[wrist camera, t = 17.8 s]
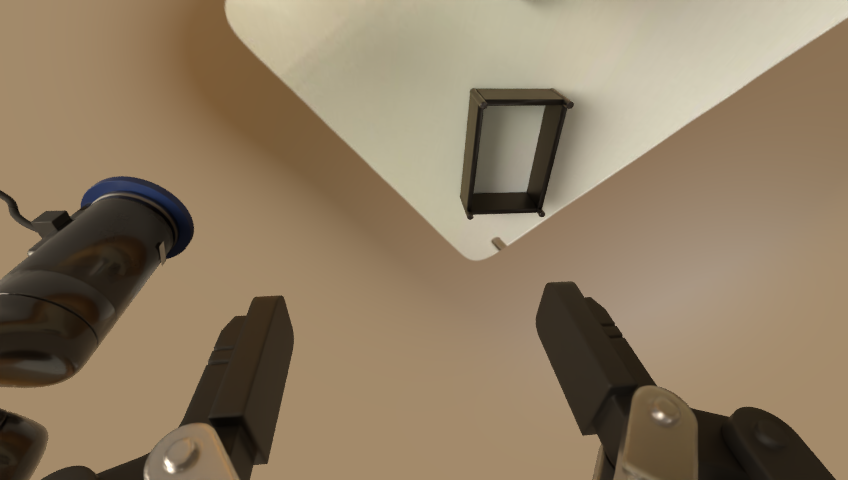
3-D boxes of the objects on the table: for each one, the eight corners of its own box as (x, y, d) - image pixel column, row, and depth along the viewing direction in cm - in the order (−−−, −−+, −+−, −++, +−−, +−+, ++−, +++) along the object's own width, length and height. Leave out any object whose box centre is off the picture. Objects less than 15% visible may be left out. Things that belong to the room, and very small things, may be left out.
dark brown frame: (459, 198, 47) (467, 219, 43) (470, 88, 39) (480, 101, 35) (530, 196, 47) (544, 217, 43) (554, 88, 40) (574, 101, 36)
